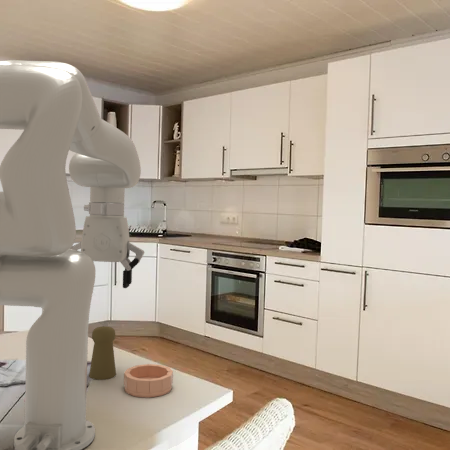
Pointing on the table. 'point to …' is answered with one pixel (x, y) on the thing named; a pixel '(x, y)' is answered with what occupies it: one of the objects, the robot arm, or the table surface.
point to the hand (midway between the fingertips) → (105, 286)
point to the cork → (103, 354)
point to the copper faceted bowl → (148, 380)
